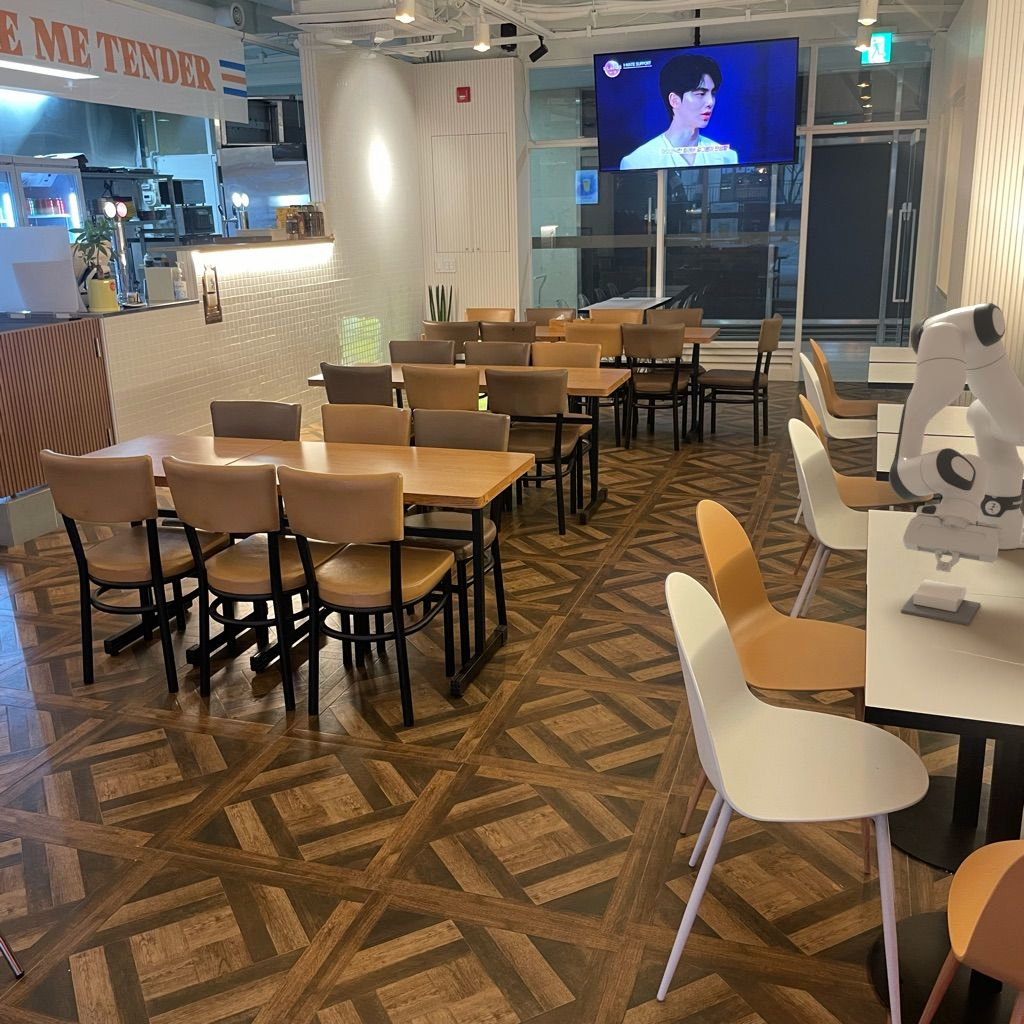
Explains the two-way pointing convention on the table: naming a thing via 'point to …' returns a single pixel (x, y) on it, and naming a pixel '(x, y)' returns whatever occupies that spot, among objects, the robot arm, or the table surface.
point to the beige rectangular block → (939, 595)
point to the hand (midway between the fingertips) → (943, 570)
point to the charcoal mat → (944, 611)
